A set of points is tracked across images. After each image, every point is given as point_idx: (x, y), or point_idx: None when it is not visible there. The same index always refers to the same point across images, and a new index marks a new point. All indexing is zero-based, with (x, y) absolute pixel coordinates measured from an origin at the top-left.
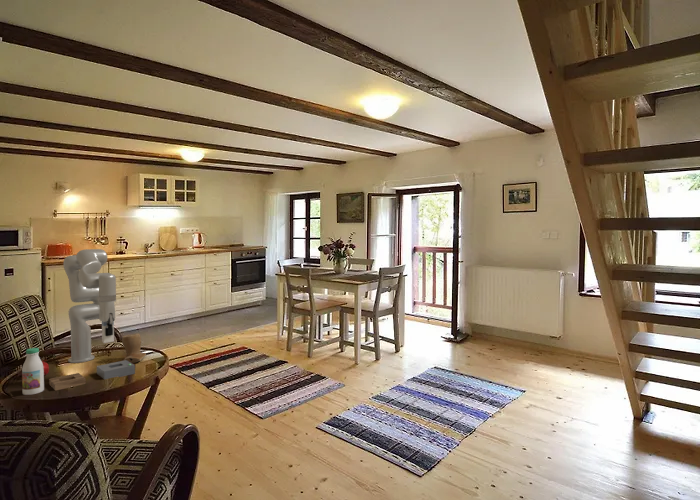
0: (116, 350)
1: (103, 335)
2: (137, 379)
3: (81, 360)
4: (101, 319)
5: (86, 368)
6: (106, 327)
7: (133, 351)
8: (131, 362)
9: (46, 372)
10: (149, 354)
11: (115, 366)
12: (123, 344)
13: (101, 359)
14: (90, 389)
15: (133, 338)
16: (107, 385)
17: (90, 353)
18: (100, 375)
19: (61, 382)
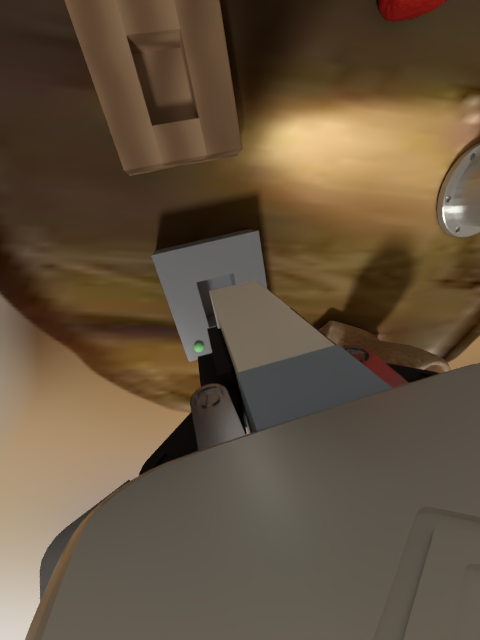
0: (474, 304)
1: (229, 308)
2: (112, 350)
3: (447, 188)
4: (370, 439)
5: (355, 199)
6: (212, 392)
7: None
8: None
9: (382, 2)
10: None
11: None
12: (391, 347)
13: (421, 257)
14: (49, 188)
15: None
16: (81, 256)
17: (474, 223)
18: (205, 239)
19: (106, 34)
